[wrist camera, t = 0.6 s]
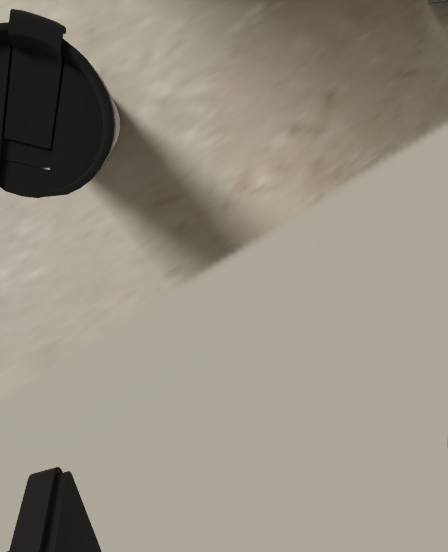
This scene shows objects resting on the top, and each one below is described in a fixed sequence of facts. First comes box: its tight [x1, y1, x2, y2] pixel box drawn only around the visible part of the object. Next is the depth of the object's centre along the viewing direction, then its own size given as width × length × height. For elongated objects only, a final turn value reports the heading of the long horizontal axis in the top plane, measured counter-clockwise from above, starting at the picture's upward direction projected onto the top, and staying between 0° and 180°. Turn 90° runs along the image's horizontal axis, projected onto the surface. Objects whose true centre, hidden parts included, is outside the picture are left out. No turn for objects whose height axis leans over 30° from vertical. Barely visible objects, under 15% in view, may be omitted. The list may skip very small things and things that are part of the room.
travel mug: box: [0, 9, 120, 198], centre depth 24 cm, size 6×7×20 cm
